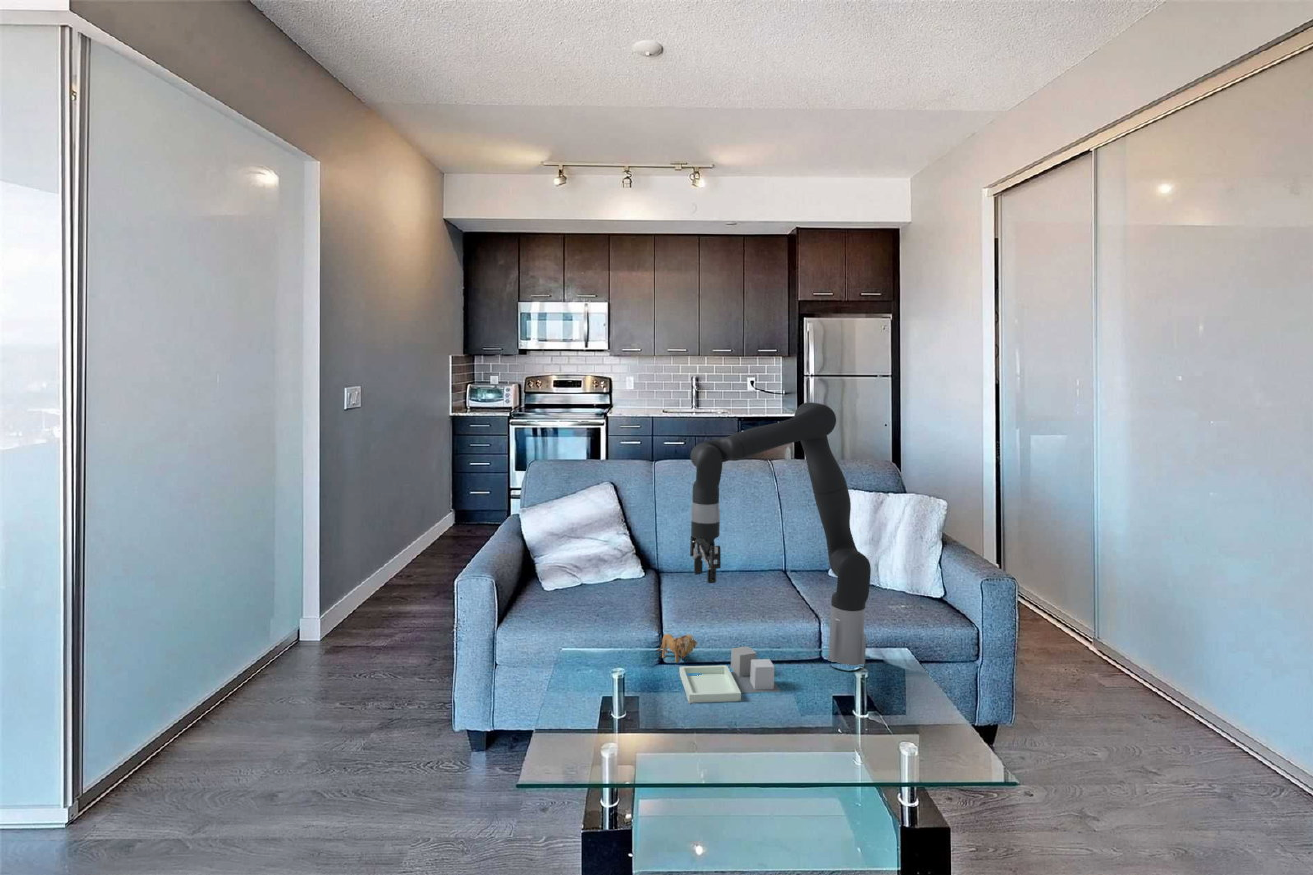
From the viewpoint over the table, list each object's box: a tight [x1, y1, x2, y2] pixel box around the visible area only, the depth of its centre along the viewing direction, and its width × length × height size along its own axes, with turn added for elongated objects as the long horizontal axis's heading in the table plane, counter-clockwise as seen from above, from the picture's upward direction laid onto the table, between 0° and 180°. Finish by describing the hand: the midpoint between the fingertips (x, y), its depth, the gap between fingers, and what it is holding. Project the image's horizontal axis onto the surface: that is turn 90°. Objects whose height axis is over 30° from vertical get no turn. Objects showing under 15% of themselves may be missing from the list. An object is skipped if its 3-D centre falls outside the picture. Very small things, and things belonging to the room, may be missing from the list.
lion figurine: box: [655, 633, 698, 663], centre depth 217 cm, size 15×5×9 cm, turn 44°
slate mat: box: [731, 672, 782, 694], centre depth 206 cm, size 11×16×1 cm
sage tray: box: [679, 664, 742, 705], centre depth 200 cm, size 13×17×2 cm
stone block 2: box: [750, 658, 776, 690], centre depth 201 cm, size 5×5×6 cm
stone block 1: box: [730, 645, 758, 677], centre depth 209 cm, size 5×5×6 cm
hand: (704, 578), depth 206 cm, fingers open, 8 cm apart
